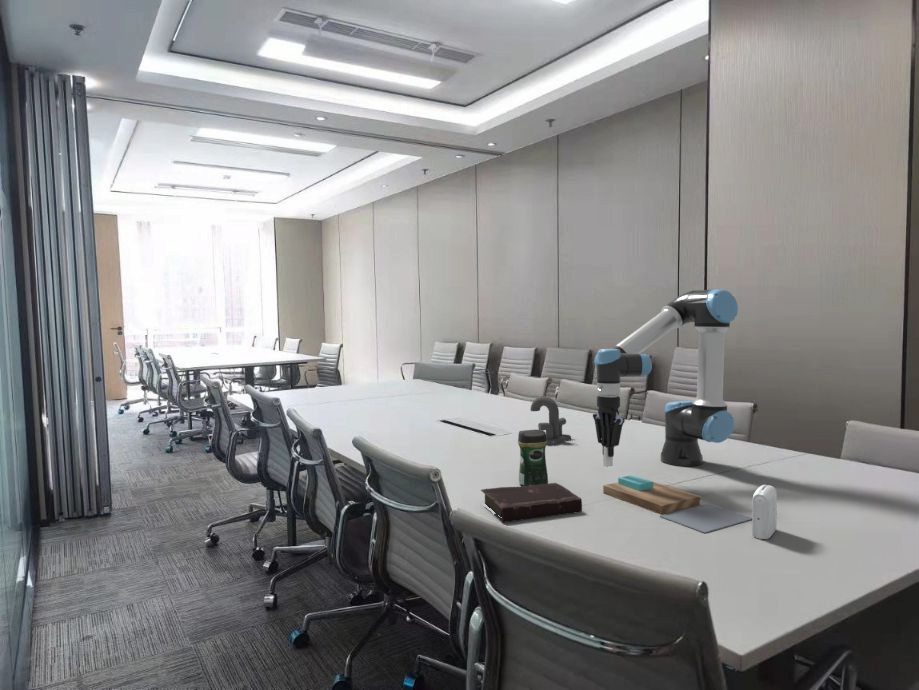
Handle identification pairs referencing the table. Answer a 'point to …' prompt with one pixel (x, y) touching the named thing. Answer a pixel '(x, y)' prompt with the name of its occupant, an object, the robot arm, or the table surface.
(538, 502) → the diary
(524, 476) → the coffee jar
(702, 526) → the mat
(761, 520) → the photo printer
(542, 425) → the faucet
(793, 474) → the table surface
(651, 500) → the wooden board
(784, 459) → the table surface
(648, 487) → the turquoise flat block
